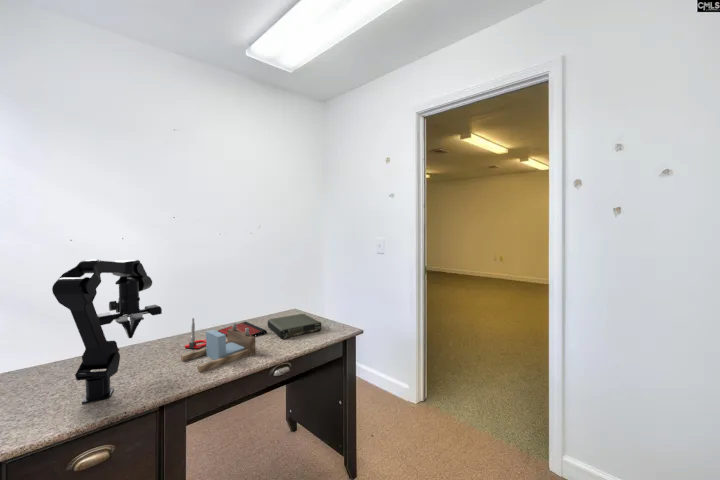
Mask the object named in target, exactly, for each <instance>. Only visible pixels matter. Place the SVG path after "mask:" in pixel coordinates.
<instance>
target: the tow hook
mask: <svg viewBox="0 0 720 480" xmlns="http://www.w3.org/2000/svg"><path fill="white" fill-rule="evenodd" d="M190 327H191V331H190V332H191V334H190V335H191V336H190V342H188V344H185V345H184V348H185V349H193V350H195V349H196V350H201V348H202V347H203V348H204V347H206V339H198V340H196V337H195V329H196V328H195V318H194V317H193V318H192V319H191V326H190ZM199 343H202V344H199Z"/></svg>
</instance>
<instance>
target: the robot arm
mask: <svg viewBox="0 0 720 480" xmlns="http://www.w3.org/2000/svg"><path fill="white" fill-rule="evenodd" d="M85 274H92V275H91V276H90V277H89V276H85ZM101 274H112V275H113V276H116V277H119V278H118V280H116V281H115V285H118V299H117V300H118V302H117V300H112V301H111V300H110V301H109V302H108V309H109V311H110V312H111V311H115V313H113V314H112V313H110V312H104V313H97V311H96V309H95V305H94V300H95V297H96V296H97V294H98V293H97V289H98V287H99V285H100V284H102V278H101ZM152 285H153V280H152V278H151V277H150V276H149V275H148V273H147V271H146V269H145V267H144V265H143V264H142V263H141V261H140V260H139V259H127V260H126V259H121V260H120V259H119V260H114V261H110V260H109V261H108V260H101V259H85V260H82V261H79V263H77V264H76V266H74V267H73V268H70V269H69V270H67V271H65V272H63V273H62V275H60V276H59V278H58V279H57V280H56V281H55V282H54V283H53V285H52V288H51V290H52V291H51V292H52V294H53V296H54V297H55V299H56V300H57V302H58V303H59V304H60V305H61V306H63V307H65V308H66V309H68V310H69V311H70V314H71V316H72V318H73V320H74V323H75V325H76V328H77V331H78V333H79V336H80V338H81V340H82V343H83V345H84V348H85V349H84V352H83V353H82V356H81V360H82V361H81V362H80V365H79V367H78V369H77V371H76V372H75V375H74V377H75V380H76V381H77V382H78V381H85V382H84V383H85V384H84V385H85V396H84V397H83V399H82V400H81V404H87V403H92V402H97V401H100V400H101V401H102V400H105V399H106V400H107V399H109V398H110V397H111V395H112V394H113V391H114V390H115V389H114V387H113V386H112V387H111V377H113V376H114V375H115V374H116V373H118V371H119V365H120V360H121V355H120V348H119V347H118V342H117V341H116V340H107V337H106V336H105V333H104V330H103V327H102V326H104V325H110V324H111V323H113V322H114V321H115V323H117V324H119V325H121V326H122V327H123V329H124V331H125V333H126V336H127V337H128V339H133V337H134V335H135V332H136V330H137V327H139V325H140V323H141V321H144V319H145V317H144V315H147V314H150V315H151V316H157V315H161V314H163V312H162V307H161V306H159V305H157V304H152V305H146V306H145V307H144V308H143V309H142V308H141V309H140V301H141V297H140V292H143V291H145V290H148V289H150V288H151V287H152ZM128 318H129V319H128ZM95 370H96V371H95Z"/></svg>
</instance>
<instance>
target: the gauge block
mask: <svg viewBox="0 0 720 480" xmlns="http://www.w3.org/2000/svg"><path fill="white" fill-rule="evenodd" d="M205 340H206V346H205V348H206V354H205V355H206V357H208V358H210V359H212V361H213V360H216V359H219V358H222V357H225V356H228V355H231V354H234V353H237V352H240V351H243V350H245V347H242V346H240V345H238V344H235V343H233V342H231V343H227V344H226V342H227V336H226V335H225V334H222V333H220V332H218V330H216V329H211V330H207V331H205Z"/></svg>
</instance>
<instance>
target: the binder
mask: <svg viewBox="0 0 720 480" xmlns="http://www.w3.org/2000/svg"><path fill="white" fill-rule="evenodd" d="M236 324H237V330H239V331H241V332H244V333H245V328H249V335H252V336H254V337H255V335H257V336H256V337H258V334H259V333H261V334H263V333H262V332H265V333H264V334H267V333H268V331H267V330H266V329H264V328H261V327H259V326H257V325H256V324H255V325H254V324H252V323H250V322H249V321H243V322H240V323H236ZM231 328H233V325H230V326H228V327H224V328H221V329H219V330H217V331H218V332H220V333H222V334H225V335H226V337H227V329H231ZM259 335H260V334H259ZM256 337H255V338H256Z"/></svg>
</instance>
